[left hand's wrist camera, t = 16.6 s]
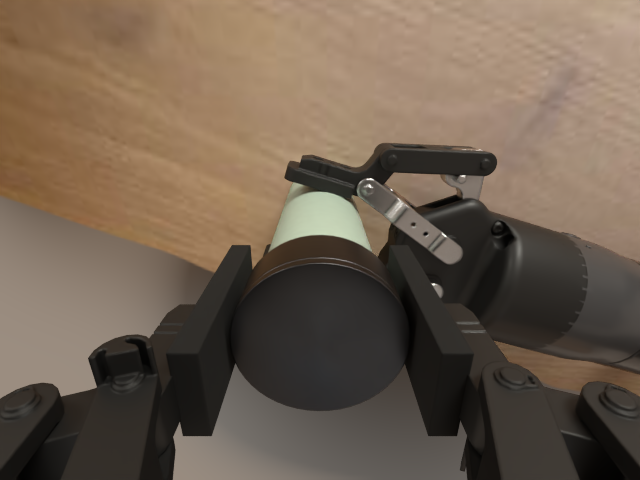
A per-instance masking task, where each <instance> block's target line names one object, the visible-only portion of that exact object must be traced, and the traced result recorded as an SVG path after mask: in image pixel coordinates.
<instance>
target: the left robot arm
mask: <svg viewBox="0 0 640 480" xmlns="http://www.w3.org/2000/svg"><path fill="white" fill-rule="evenodd" d="M388 271H389V273H390V275H391V278H392V280H393V282H394V285H395V287H396V290H397V292H398V295H399V297H400V300H401V302H402V304H403V307H404V310H405V312H406V314H407V317H408V321H409V325H410V333H411V339H410V348H409V352H408V356H407V359H406V361H405V365H406V368H407V371H408V375H409V378H410V381H411V384H412V387H413V390H414V393H415V396H416V399H417V402H418V405H419V409H420V412H421V415H422V418H423V421H424V424H425V427H426V430H427V433H428V436H457V433H458V429H459V424H460V420H461V423H462V425H463V427H464V429H465V432H466V434H467V439H466V444H465V448H464V453H463V457H462V461H461V467H460V470H461V471H465V468H466V469H467V479H468V480H640V397H639V396H638V395H636V394H634V393H632V392H630V391H628V390H627V389H625V388H622V387H620V386H617V385H614V384H611V383H605V382H599V381H596V382H588V383H587V384H586V385H584V386H583V388H582V390H581V393H580V395H575V394H571V393H567V392H563V391H558V390H554V389H550V388H547V387H543V385H542V384H541V382H540V381H539V379H538V378H537V377H536V376H535V375H534V374H532V373H531V372H530V371H529V370H527V369H525V368H523V367H521V366H519V365H517V364H513V363H510V362H509V361H508V360H507V359H506V357H505V356H504V355H503V353H502V352H501V350H500V349H499V348H498V346H497V345H496V344H495V342H494V341H493V339H492V338H491V337H490V335H489V334H488V333H486V330H485V328H484V327H483V326H482V325H480V321H479V320H478V319H477V317H476V316H475V315H474V313H473V312H472V311H470V310H469V309H467V308H466V307H465V306H463V305H462V304H459V303H457V304H456V303H453V304H452V303H450V304H449V303H446V304H445V303H443V302H442V300H441V298H440V297H439V295H438V293H437V292H436V290H435V289H434V287H433V285H432V284H431V282H430V280H429V279H428V277H427V276H426V274H425V272H424V271H423V269H422V267H421V266H420V264H419V262H418V261H417V259H416V258H415V256H414V254H413V253H412V251H411V249H410V248H409V246H408V245H390V247H389V259H388ZM251 272H252V259H251V247H250V245H232V246H231V248H230V249H229V251H228V253H227V254H226V256H225V258H224V259H223V261H222V262H221V264H220V266H219V267H218V269H217V271H216V272H215V274H214V276H213V277H212V279H211V280H210V282H209V284H208V285H207V287H206V289H205V290H204V292H203V294H202V295H201V297H200V298H199V300H198V302H197V303H196V305H179V306H177V307H176V308H174V309H173V310H172V311H170V312H169V313H167V315H166V316H165V317H164V319H163V320H162V322H161V323H160V326H158V327H157V328H156V330H155V331H154V334H152V335H151V337H150V338H147V337H146V336H142V335H126V336H122V337H118V338H115V339H112V340H110V341H108V342H106V343H104V344H102V345H101V346H100V347H98V348H97V349H95V350H94V351H93V353H92V354H91V355H90V356H89V358H88V359H89V363H90V366H91V369H92V372H93V375H94V379H95V382H96V385H97V388H95V389H92V390H88V391H84V392H79V393H75V394H71V395H66V396H62V397H61V396H60V393H59V390H58V388H57V387H55V386H54V385H53V384H48V383H38V384H32V385H28V386H26V387H23V388H20V389H17V390H15V391H13V392H11V393H9V394H8V395H6V396H4V397H2V398H1V399H0V480H173V470H174V460H175V444H174V439H173V436H174V433H175V431H176V429H177V427H178V424H179V422H180V424H181V429H182V433H183V436H212V433H213V430H214V427H215V424H216V421H217V418H218V415H219V412H220V408H221V405H222V402H223V399H224V396H225V393H226V390H227V387H228V384H229V381H230V378H231V375H232V372H233V368H234V365H235V361H234V358H233V355H232V352H231V346H230V327H231V322H232V318H233V315H234V312H235V310H236V307H237V305H238V302H239V300H240V298H241V295H242V293H243V290H244V288H245V285H246V283H247V280H248V278H249V276H250V274H251Z"/></svg>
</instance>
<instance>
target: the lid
mask: <svg viewBox="0 0 640 480" xmlns="http://www.w3.org/2000/svg"><path fill="white" fill-rule="evenodd" d="M410 339H411V333H410V325H409V321H408V317H407V314H406V312H405V310H404V307H403V304H402V302H401V300H400V297H399V295H398V292H397V290H396V287H395V285H394V282H393V280H392V278H391V275H390V273H389V271H388V270H387V268H386V267H385V265H384V264H383V263H382V262H381V260H380V259H379V258H378V257H377V256H376V255H374V254H373V253H372V252H371V251H370V250H368V249H367V248H365V247H364V246H362V245H360V244H358V243H356V242H354V241H351V240H348V239H345V238H342V237H337V236H331V235H309V236H303V237H299V238H295V239H292V240H289V241H287V242H285V243H282V244H280V245H279V246H277V247H275V248H274V249H272V250H271V251H269V252H268V253H267V254H266V255H265V256H264V257H263V258H262V259H261V260H260V261H259V262H258V263H257V264H256V266H255V267H254V269H253V270H252V272H251V274H250V276H249V278H248V280H247V283H246V285H245V288H244V290H243V293H242V295H241V298H240V300H239V302H238V305H237V307H236V310H235V312H234V315H233V318H232V322H231V327H230V346H231V352H232V355H233V358H234V361H235V363H236V365H237V367H238V369H239V370H240V372H241V373H242V375H243V376H244V377H245V379H246V380H247V381H248V382H249V383H250V384H251V385H252V386H253V387H254V388H256V389H257V390H258V391H259V392H260V393H262V394H263V395H265V396H266V397H268V398H270V399H272V400H274V401H276V402H278V403H281V404H283V405H286V406H289V407H293V408H297V409H303V410H310V411H330V410H338V409H343V408H347V407H351V406H354V405H357V404H360V403H362V402H364V401H366V400H369V399H370V398H372V397H374V396H375V395H377V394H379V393H380V392H381V391H382V390H384V389H385V388H386V387H387V386H388V385H389V384H390V383H391V382H392V381H393V380H394V379H395V378H396V376H397V375H398V374H399V373H400V371H401V369H402V367H403V366H404V364H405V361H406V359H407V356H408V352H409V348H410Z"/></svg>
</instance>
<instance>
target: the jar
mask: <svg viewBox="0 0 640 480" xmlns="http://www.w3.org/2000/svg"><path fill="white" fill-rule="evenodd" d="M309 235H331V236H337V237H342V238H345V239H348V240H351V241H354V242H356V243H358V244H360V245H362V246H364V247H365V248H367V249H368V250H370V251H371V248H370V245H369V242H368V239H367V236H366V233H365V230H364V227H363V224H362V221H361V219H360V216H359V213H358V210H357V207H356V204H355V201H354V198H353V195H352V197H351V199H348V198H345V197H341V196H338V195H335V194H332V193H328V192H324V191H321V190H318V189H314V188H311V187H308V186H304V185H301V184H298V183H294V182H293V184H292V186H291V188H290V191H289V194H288V197H287V199H286V202H285V205H284V208H283V211H282V214H281V217H280V220H279V223H278V226H277V228H276V231H275V234H274V237H273V240H272V243H271V246H270V249H269V251H271V250H272V249H274V248H275V247H277V246H279V245H280V244H282V243H285V242H287V241H289V240H292V239H295V238H299V237H303V236H309ZM371 252H372V251H371Z"/></svg>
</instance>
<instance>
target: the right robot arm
mask: <svg viewBox="0 0 640 480" xmlns="http://www.w3.org/2000/svg"><path fill="white" fill-rule="evenodd" d="M496 165H497V159H496V157H495V156H494V155H493V154H492V153H489V152H485V151H482V150H479V149H476V148H472V147H465V146H442V145H419V144H397V143H382V144H379V145H378V146H377V147H376V148H375V150H374V154H373V155H372V156H371V157H370V159H369V160H368V161H367V162H366V163H365V164H364V165H363V166H361V167H356V168H355V167H350V166H347V165H343V164H340V163H337V162H334V161H331V160H327V159H324V158H321V157H318V156H314V155H303V156H302V159H301V162H300V163H299V162H295V161H290V162H289V164H288V166H287V170H286V174H285V177H284V178H285V179H287V180H289V181H291V182H294V183H298V184H301V185H304V186H308V187H311V188H314V189H318V190H321V191H324V192H328V193H332V194H335V195H338V196H341V197H345V198H348V199H351V197H352V195H355V196H358V197H360V198H361V199H362V200H363V201H365V202H366V203H368V204H369V205H370V206H372V207H373V208H374V209H376V210H377V211H378V212H380V213H381V214H382V215H384V216H385V217H386V218H387V219H388V220H389V221H390V222H391V226H390V228H389V235H388V242H387V243H386V244H385V246H384V247H383V248H382V250H381V251H380V253H379V256H378V258H379V259H380V260H381V262H382V263H383V264H384V265H385V267H386V268H387V270H388V259H389V247H390V245H408V246H409V248H410V249H411V251H412V253H413V254H414V256H415V258H416V259H417V261H418V262H419V264H420V266H421V267H422V269H423V271H424V272H425V274H426V276H427V277H428V279H429V280H430V282H431V284H432V285H433V287H434V289H435V290H436V292H437V293H438V295H439V297H440V298H441V300H442V302H443V303H445V304H446V303H449V304H450V303H452V304H453V303H456V304H457V303H459V304H462V305H463V306H465V307H466V308H467V309H469V310H470V311H472V312H473V313H474V315H475V316H476V317H477V319H478V320H479V321H480V325H482V326H483V327H484V328H485V330H486V333H488V334H489V335H490V337H491V338H492V339H493V340H494V341H498V342H502V343H506V344H509V345H513V346H517V347H521V348H525V349H529V350H532V351H536V352H540V353H544V354H548V355H552V356H555V357H560V358H564V359H571V360H581V361H589V362H594V363H597V364H601V365H605V366H608V367H612V368H616V369H620V370H624V371H627V372H631V373H635V374H639V375H640V262H638V261H635V260H632V259H628V258H626V257H623V256H621V255H619V254H617V253H615V252H613V251H611V250H609V249H607V248H604V247H602V246H599V245H597V244H594V243H591V242H588V241H585V240H582V239H581V238H579V237H577V236H575V235H572V234H568V233H563V232H561V233H559V232H556V231H552V230H549V229H546V228H543V227H540V226H536V225H533V224H530V223H527V222H523V221H520V220H517V219H514V218H510V217H507V216H504V215H501V214H497V213H494V212H491V211H489V210H488V209H487V208H486V206H485V205H484V204H483V203H482V202H480V201H479V197H480V192H481V188H482V183H483V179H484V176H487V175H489V174H491V173H492V172H493V171H494V170H495V168H496ZM394 172H396V173H419V174H440V175H441V179H442V180H443V181H444V182H445V183H447V184H448V185H450V186H452V187H455V188H456V190H457V195H453V196H450V197H447V198H444V199H441V200H438V201H435V202H432V203H429V204H425V205H422V206H419V207H416V206H414V205H413V204H412V203H410V202H409V201H408V200H406V199H405V198H404V197H403V196H401V195H400V194H399V193H397V192H396V191H395V190H393V189H391V188H390V187H389V186H387V185H386V184H385V182H386V181H387V180H388V179H389V177H390V176H391V175H392V174H393V173H394ZM270 246H271V244H269V245H267V246H266V249H265V252H264V255H263V257H264V256H265V255H266V254H267V253H268V252H269V249H270Z"/></svg>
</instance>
